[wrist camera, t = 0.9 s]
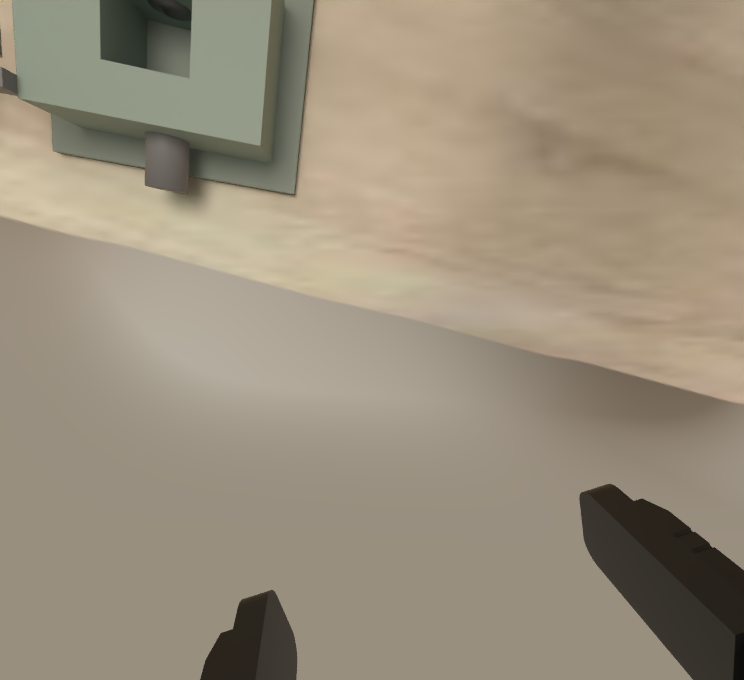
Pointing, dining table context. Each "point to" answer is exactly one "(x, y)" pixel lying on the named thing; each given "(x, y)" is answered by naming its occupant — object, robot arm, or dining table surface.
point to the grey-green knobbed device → (170, 84)
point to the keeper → (0, 46)
